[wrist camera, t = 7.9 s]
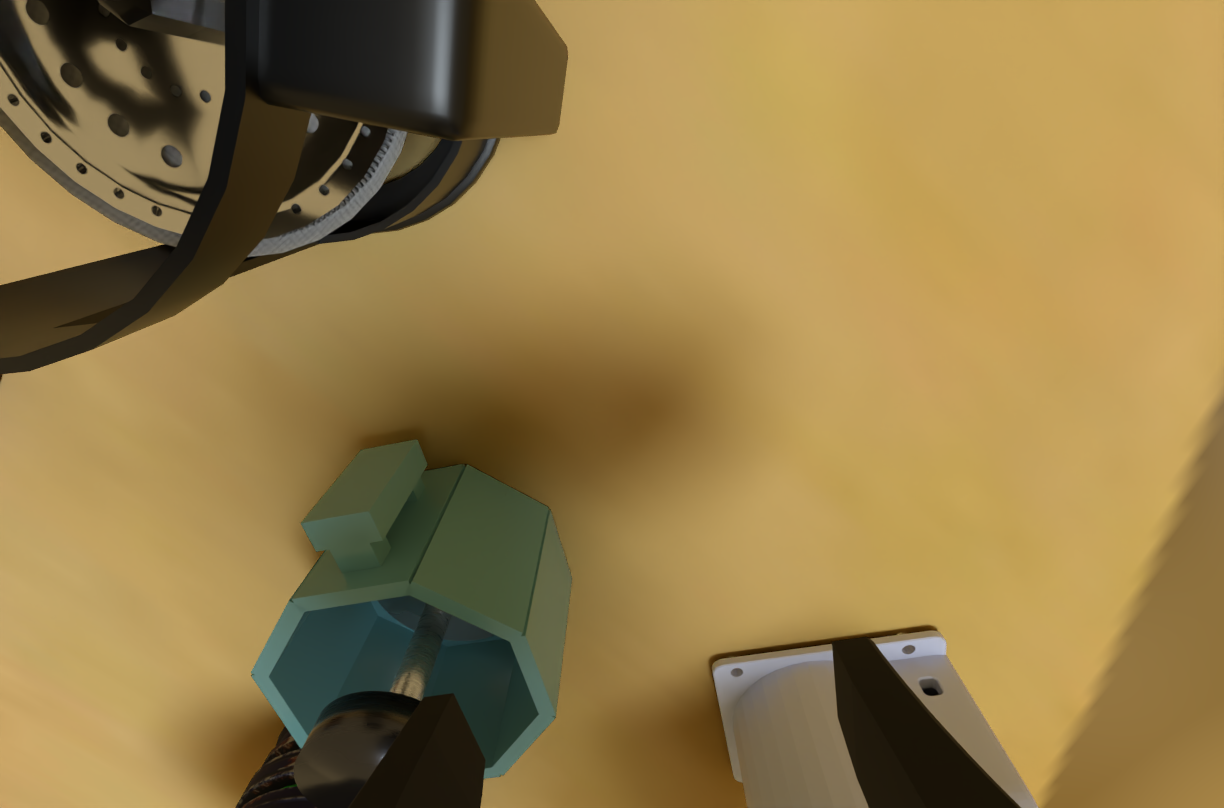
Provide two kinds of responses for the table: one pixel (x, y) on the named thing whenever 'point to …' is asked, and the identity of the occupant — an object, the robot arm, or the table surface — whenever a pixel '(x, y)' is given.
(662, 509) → the table surface
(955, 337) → the table surface
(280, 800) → the storage jar
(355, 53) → the french press
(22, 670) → the table surface
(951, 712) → the robot arm
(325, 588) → the carafe
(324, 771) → the plunger
